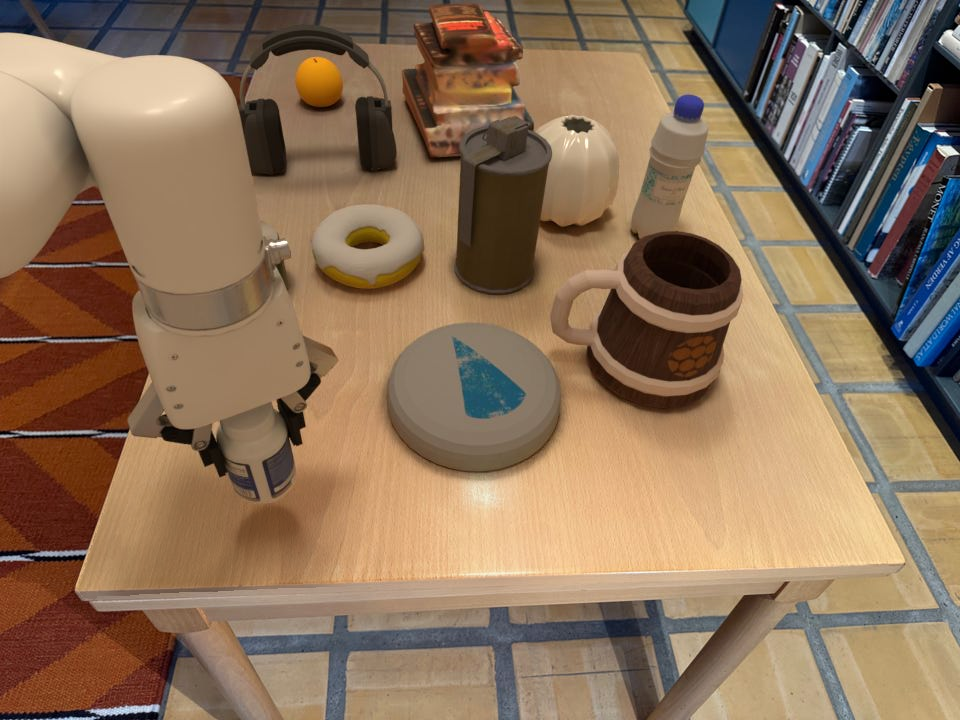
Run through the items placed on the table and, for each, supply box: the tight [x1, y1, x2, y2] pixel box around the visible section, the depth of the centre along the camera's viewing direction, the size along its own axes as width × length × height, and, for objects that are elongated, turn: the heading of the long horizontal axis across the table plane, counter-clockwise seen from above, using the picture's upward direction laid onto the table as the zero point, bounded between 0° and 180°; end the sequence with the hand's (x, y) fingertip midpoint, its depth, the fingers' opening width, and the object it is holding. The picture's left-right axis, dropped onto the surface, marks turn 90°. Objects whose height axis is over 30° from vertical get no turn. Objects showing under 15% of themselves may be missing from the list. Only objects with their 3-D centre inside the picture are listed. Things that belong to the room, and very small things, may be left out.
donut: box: [311, 203, 425, 290], centre depth 82 cm, size 14×14×5 cm
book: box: [401, 2, 535, 159], centre depth 104 cm, size 23×18×17 cm
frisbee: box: [386, 321, 562, 472], centre depth 68 cm, size 18×18×5 cm
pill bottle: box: [215, 401, 297, 505], centre depth 53 cm, size 5×5×10 cm
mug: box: [549, 230, 744, 409], centre depth 69 cm, size 20×15×15 cm
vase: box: [535, 114, 620, 228], centre depth 90 cm, size 14×14×13 cm
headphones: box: [238, 23, 398, 176], centre depth 92 cm, size 22×6×20 cm, turn 100°
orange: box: [294, 56, 344, 108], centre depth 110 cm, size 8×8×8 cm
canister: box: [453, 116, 552, 295], centre depth 77 cm, size 11×10×20 cm
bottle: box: [630, 93, 709, 240], centre depth 85 cm, size 7×7×20 cm
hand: (255, 446), depth 53 cm, fingers closed on pill bottle, 5 cm apart
